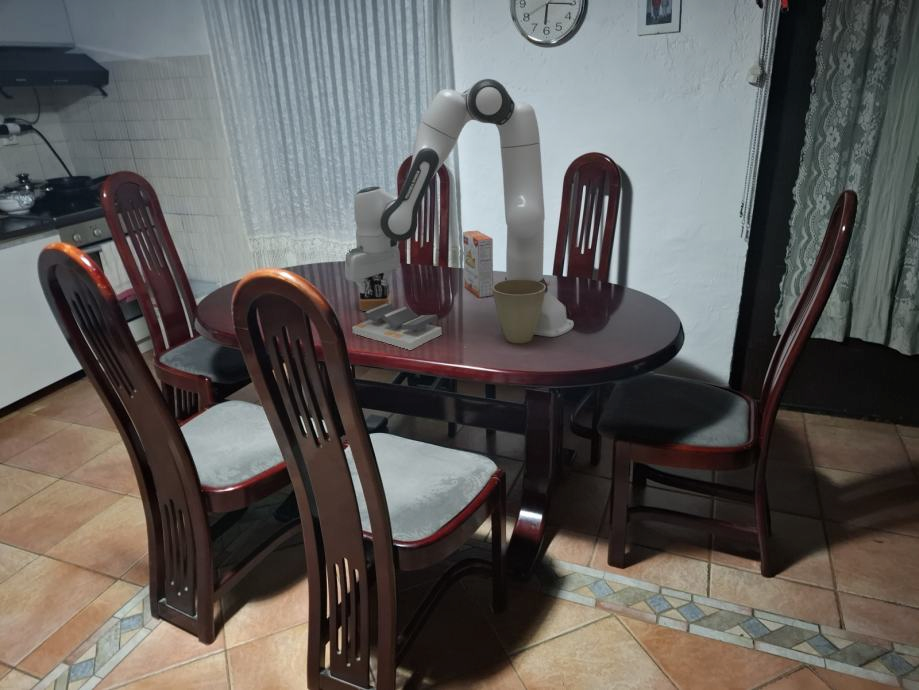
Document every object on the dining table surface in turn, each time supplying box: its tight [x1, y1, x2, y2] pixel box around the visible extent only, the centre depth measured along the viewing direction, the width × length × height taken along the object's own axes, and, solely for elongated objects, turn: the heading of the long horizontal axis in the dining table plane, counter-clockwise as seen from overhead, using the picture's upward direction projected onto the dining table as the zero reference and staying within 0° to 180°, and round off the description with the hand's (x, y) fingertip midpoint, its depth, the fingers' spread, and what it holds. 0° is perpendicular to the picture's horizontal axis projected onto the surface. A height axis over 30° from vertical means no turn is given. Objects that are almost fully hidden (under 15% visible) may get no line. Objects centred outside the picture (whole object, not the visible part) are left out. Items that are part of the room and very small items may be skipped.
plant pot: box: [492, 279, 546, 344], centre depth 177 cm, size 15×15×16 cm
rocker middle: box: [382, 305, 419, 329], centre depth 185 cm, size 6×10×2 cm, turn 143°
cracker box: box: [462, 230, 494, 299], centre depth 219 cm, size 14×6×21 cm, turn 21°
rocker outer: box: [363, 303, 399, 323], centre depth 189 cm, size 6×10×2 cm, turn 143°
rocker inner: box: [401, 314, 439, 330], centre depth 181 cm, size 6×10×2 cm, turn 143°
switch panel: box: [352, 319, 443, 351], centre depth 185 cm, size 23×14×4 cm, turn 53°
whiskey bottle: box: [358, 273, 392, 312], centre depth 205 cm, size 10×10×32 cm
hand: (374, 288), depth 188 cm, fingers open, 8 cm apart
